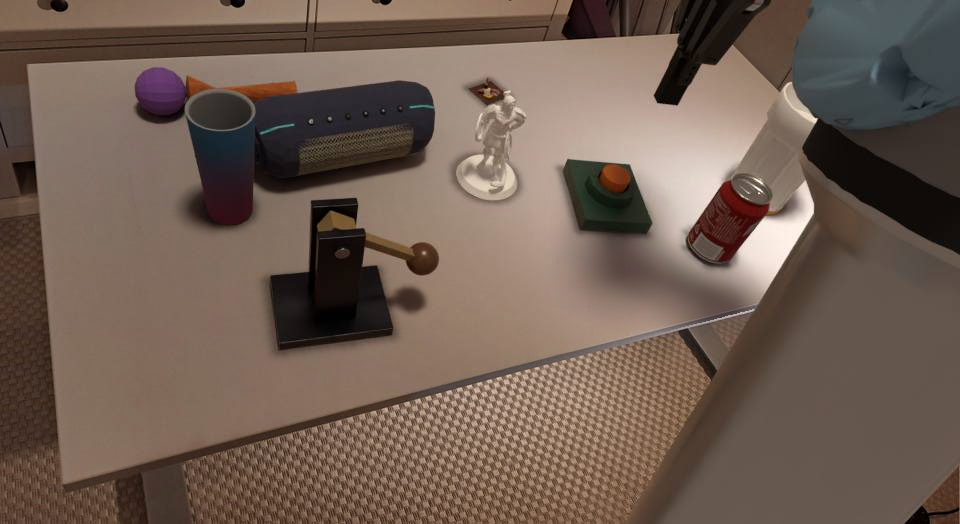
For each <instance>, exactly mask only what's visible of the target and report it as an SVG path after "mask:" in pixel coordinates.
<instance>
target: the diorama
mask: <svg viewBox="0 0 960 524" xmlns="http://www.w3.org/2000/svg"><path fill="white" fill-rule="evenodd" d="M489 78H490V77H489V76H487V77H486V80H485V82H483V83H480V84H477V85H475V86H472V87H468V90H469V91H470V92H472V94H473V95H475V96H476V97H477V98H478V99H479V100H481V101H482V102H483V103H484V104H485V105H487V106H489V105H492V104H493V103H496V102H499V101H501V100H504V98H505V97H504V95H503V93H504V92H505V91H504V90H503V89H501V88H500V87H499V86H498V85H497V84H495V82H493V81H491V80H489Z"/></svg>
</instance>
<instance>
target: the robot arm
mask: <svg viewBox="0 0 960 524" xmlns="http://www.w3.org/2000/svg"><path fill="white" fill-rule="evenodd" d="M771 2H772V0H682V4H681V6H680V8H679V12H678V14H677V17H676V21H675V23H674V31H675V32H678V37H677V38H676V44H677V46H676V48H675V51H674V52H673V54H672V57H671V59H670V60H669V62H668V65H667V68H666V70H665V72H664V73H663V75H662V78H661V80H660V81H659V84H658V86H657V87H656V90H655V91H654V93H653V98H654V100H655V102H656V104H660V105H668V106H669V105H670V106H679V104H680V103H681V101H682V99H683V97H684V95H685V93H686V92H687V89H688V88H689V86H690V85H691V84H692V83H693V81H694V79H695V78H696V76H697V74H698V72H699V70H700V69H701V67H702V65H708V66H717V65H718V63H719V62H720V61H721V60H722V59H723V58H724V57H725V55H726V54H727V53H728V52H729V50H730V49H731V47H732V46H733V45H734V44H735V42H736V41H737V40H738V38H739V37H740V36H741V34H743V32H744V31H745V29H746V28H747V27H748V26H749V25H750V23H751V22H752V21H753V20H754V18H755V17H756V16H757V15H758V14H760V13H761V12H762V11H764V10H765V9H767V8H768V7H769V6H770V5H771ZM806 14H807V17H808V21H807V22H806V23H805V25H804V27H803V28H802V29H801V30H800V32H799V33H798V36H797V38H796V42H795V44H794V50H793V54H792V58H791V78H790V79H791V82H792V85H793V88H794V91H795V93H796V96H797V98H798V99H799V100H800V102H801V103H802V104H803V105H804V106H805V107H807V108H808V109H809V111H810V112H811V114H812V116H813V117H814V118H818V119H817V121H816V123H815V125H814V127H813V128H812V130H811V132H810V134H809V135H808V137H807V139H806V141H805V142H804V144H803V146H802V148H801V150H800V152H799V154H798V157H799V162H800V165H801V168H802V171H803V174H804V177H805V179H806V180H805V183H806V185H807V188H808V191H809V194H810V197H811V200H812V203H813V213H812V215H811V217H810V218H809V220H808V222H807V223H806V225H805V226H804V229H802V232H801V233H800V235H799V236H798V238H797V239H796V241H795V243H794V245H793V246H792V248H791V249H790V251H789V253H788V254H787V255H786V258H785V259H784V261H783V263H781V266H780V267H779V269H778V271H777V272H776V274H775V275H774V277H773V279H772V280H771V282H770V283H769V286H768V287H767V288H766V290H765V292H764V293H763V295H762V296H761V299H760V300H759V302H758V303H757V305H756V307H755V308H754V310H753V311H752V313H751V315H750V316H749V318H748V320H747V321H746V322H745V325H744V327H742V329H741V331H740V333H739V334H738V336H737V338H736V339H735V341H734V343H733V344H732V346H731V348H730V349H729V351H728V353H727V354H726V356H724V357H725V358H724V359H723V360H722V362H721V364H720V365H719V367H718V369H717V370H716V372H715V374H714V375H713V377H712V378H711V380H710V382H709V383H708V385H707V386H706V388H705V390H704V392H703V393H702V395H701V397H700V398H699V400H698V401H697V403H696V405H695V406H694V408H693V410H692V411H691V413H690V414H689V416H688V418H687V419H686V421H685V423H684V424H683V426H682V428H681V429H680V431H679V433H678V434H677V436H676V437H675V439H674V440H673V442H672V444H671V445H670V447H669V449H667V452H666V453H665V455H664V457H663V459H662V460H661V461H660V463H659V465H658V467H657V468H656V470H655V472H654V473H653V475H652V477H651V478H650V480H649V481H648V483H647V485H646V486H645V488H644V490H643V491H642V493H641V494H640V496H639V498H638V499H637V501H636V503H635V504H634V506H633V508H632V509H631V510H630V512H629V514H628V515H627V517H626V519H625V521H624V522H623V524H906V523H907V521H908V520H909V519H911V517H912V516H913V515H914V514H915V513H916V512H917V511H918V510H919V509H920V508H921V507H922V506H923V505H924V503H926V502H927V500H928V499H929V498H930V497H931V496H932V495H933V494H934V493H935V492H936V491H937V490H938V489H939V488H940V487H941V486H942V485H943V483H945V481H946V480H947V479H948V478H949V477H950V476H951V475H952V474H953V473H954V472H955V471H956V469H958V468H959V466H960V0H810V2H809V5H808V7H807V10H806Z"/></svg>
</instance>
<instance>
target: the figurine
mask: <svg viewBox="0 0 960 524" xmlns="http://www.w3.org/2000/svg"><path fill="white" fill-rule="evenodd" d="M503 92H504V93H503V95H504V97H505V98H504V99H502V104H495V103H494V104H493V103H491V104H489V105H487V107H485V109H484V112H481V113H479V116H478V119H477V121H476V122H477V123H476V127H475V134H474V140H475V142H477V143H479V142H482V144H483V146H484V147H483V149H482V152H481V153H482V154H474V155H471V156H469V157H467V158H466V159H463V160H462V161H461V162H460V163H459V164H458V166H457V167H456V171H455V175H456V180H457V182H458V184H459V185H460V186H461V188H462V189H463V190H464V191H466V192H467V193H468V194H470V195H472V196H473V197H476V198H479V199H481V200H486V201H502V200H505V199H508V198H510V197H511V196H512V195H513V194H515V192H516V190H517V188H518V180H517V176H516V174H515V172H514V170H513V169H512V167H511V165H509V164H508V163H510V153H511V150H512V147H513V136H512V133H511V132H512V131H514V130H516V129H518V128H520V127H522V126H523V125H524V123H525V120H526V119H527V114H526V113H525V112H524V111H523V110H522V108H519V107H517V106H516V99H515V97H513V95H511V89H509V90H505V91H503ZM490 120H493V121H492V123H491V124H490ZM514 122H516V123H514ZM512 123H514V124H512ZM489 124H490V126H489V128H488V129H487V132H486V134H485V136H484V138H483V134H484V132H485V130H486V128H487V126H488V125H489ZM511 124H512V125H511ZM510 125H511V126H510ZM509 126H510V127H509ZM482 140H483V141H482ZM508 144H509V146H508ZM492 149H494V153H493V155H492ZM506 160H507V162H508V163H507V162H506Z"/></svg>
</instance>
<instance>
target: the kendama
mask: <svg viewBox="0 0 960 524" xmlns="http://www.w3.org/2000/svg"><path fill="white" fill-rule="evenodd" d="M133 87H134V95H135V98H136V100H137V101H138V103H139V105H140V106H141V107H142V108H144V110H146V111H147V112H149V113H152V114H154V115H157V116H169V115H172V114H174V113H175V114H176V113H177V112H179V110H180V109H182V108H183V106H184V105H185V102H186V100H187V101H188V100H189V99H190V98H191V97H192V96H193V95H195V94H197V93H199V92H202V91H206V90H211V89H226V90H232V91H236V92H238V93H241V94H243V95H244V96H246V97H248V98H249V99H250V100H251V101H252V102H256V101H259V100H262V99H265V98H268V97H271V96H279V95H287V94H295V93H298V88H297V87H298V86H297V84H296V82H295V80H291V81H280V82H271V83H268V82H267V83H258V84H247V85H236V86H225V87H223V86H222V87H215V86H214V85H213V86H212V85H210V84H208V83H206V82H204V81H201V80H199V79H197V78H195V77H192V76H190V75H188V74H186V77H185V83H184V81H183V79H182V78H181V77H180V76H179V75H178V74H177V73H176V72H175V71H173V70H170V69H169V68H166V67H163V66H162V67H159V66H153V67H150V68H147V69H145V70H143V71H142V72H141V73H140V74H139V75H138V76H137V77H136V81H135V83H134V86H133Z"/></svg>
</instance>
